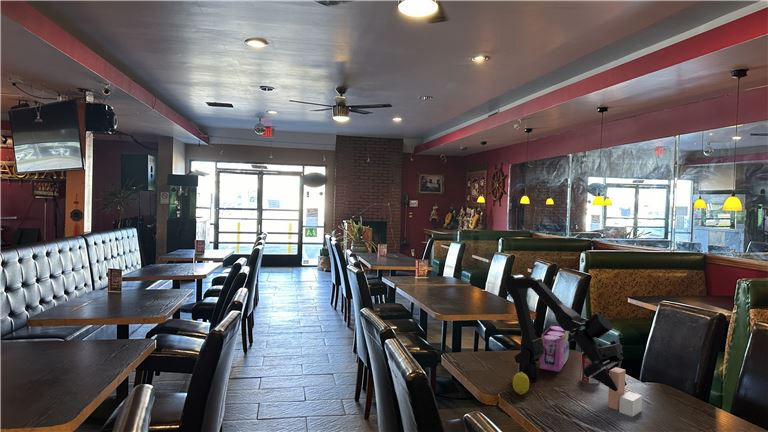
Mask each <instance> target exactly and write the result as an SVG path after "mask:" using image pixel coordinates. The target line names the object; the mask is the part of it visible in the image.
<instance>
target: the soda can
mask: <svg viewBox="0 0 768 432" xmlns="http://www.w3.org/2000/svg"><path fill="white" fill-rule="evenodd" d="M583 353H584V352H583V351H582V352H581V353H580V369H579V370H580V372H579V375H580V376H579V380H580V382H582V383H583V384H587V385H600V383H601V382H599V381H597V380H595V379H592V378H591V377H592V376H594V375H593V374H592V376H590V377H588V378H586V377H585V375H584V374H583V369H584V368H585V367H587V366H588V365H590V364H591V362H590V361H589V359H588V358H587V357H586V356H584V357H583V355H582V354H583Z"/></svg>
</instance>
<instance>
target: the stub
mask: <svg viewBox="0 0 768 432" xmlns="http://www.w3.org/2000/svg"><path fill="white" fill-rule="evenodd" d="M609 376H610V377H611V379H612V380H613V382H614V384H615V385H616V387H617V389H618V390H617V391H614V390H612V389H610V388H609V387H608V394H607V395H608V396H607V397H608V398H607V400H608V401H607V407H608V408H610V409H613V410H616V411H619V407H620V396H622V395H624V394H625V393H626V392H625V391H626V389H625V387H626V386H625V381H626V369H623V368H621V367H620V368H617V367H615V368H613V369H611V370H610V371H609Z"/></svg>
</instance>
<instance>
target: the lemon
mask: <svg viewBox="0 0 768 432" xmlns="http://www.w3.org/2000/svg"><path fill="white" fill-rule="evenodd" d="M512 387H513V390H514V391H515V392H516V393H517V394H519V396H522V395H524V394H526V393H527V392H528V391H529V389H530V381H529V379H528V377H527V375H526V374H524V373H523V372H520V373H518V372H516V374H515V375H514V376H513V378H512Z"/></svg>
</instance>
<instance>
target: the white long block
mask: <svg viewBox="0 0 768 432" xmlns="http://www.w3.org/2000/svg"><path fill="white" fill-rule="evenodd" d="M642 404H643V395H642V394H639V393H636V392H632V391H628V392H625V393H624V395H622V396H620V407H619V409H618V410H617V412H619V413H621V414H624V415H626V416H628V417H634V416H636V415H637V414H639V413H640V412H641V411H642V408H643V407H642Z"/></svg>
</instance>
